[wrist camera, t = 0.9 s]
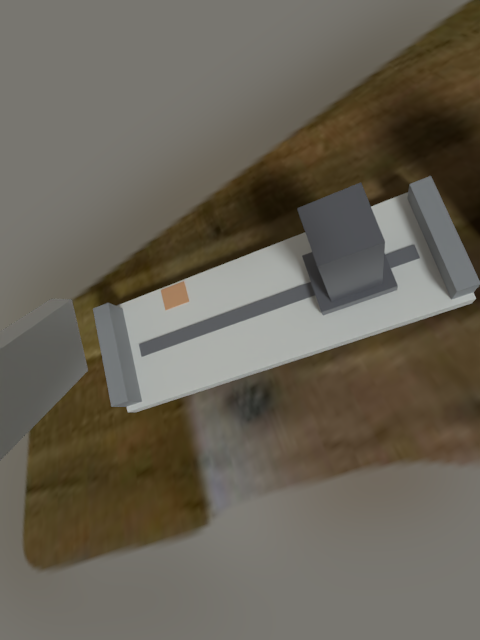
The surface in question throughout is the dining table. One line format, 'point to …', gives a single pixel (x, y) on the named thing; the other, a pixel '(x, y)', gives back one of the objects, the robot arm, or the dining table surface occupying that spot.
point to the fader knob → (345, 250)
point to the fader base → (277, 308)
